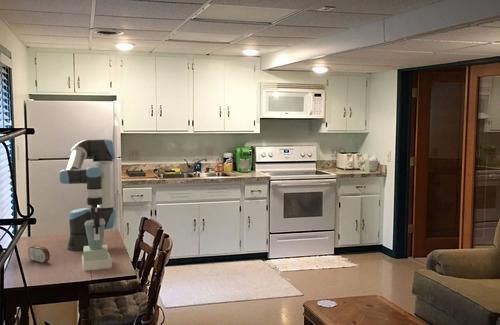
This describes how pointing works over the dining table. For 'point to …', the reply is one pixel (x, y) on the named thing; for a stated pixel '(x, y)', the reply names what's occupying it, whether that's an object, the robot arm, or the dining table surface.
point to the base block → (97, 264)
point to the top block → (95, 253)
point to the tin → (39, 254)
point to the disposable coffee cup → (90, 233)
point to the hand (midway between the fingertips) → (95, 237)
